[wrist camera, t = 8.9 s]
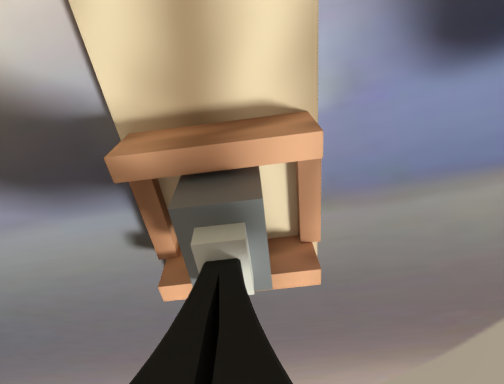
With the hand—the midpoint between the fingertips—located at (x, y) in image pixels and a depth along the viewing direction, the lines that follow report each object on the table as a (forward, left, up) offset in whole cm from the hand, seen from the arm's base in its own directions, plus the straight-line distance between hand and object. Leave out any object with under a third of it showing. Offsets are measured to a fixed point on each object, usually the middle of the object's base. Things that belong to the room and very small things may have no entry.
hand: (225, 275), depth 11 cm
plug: (0, 0, -6) cm, 6 cm away
